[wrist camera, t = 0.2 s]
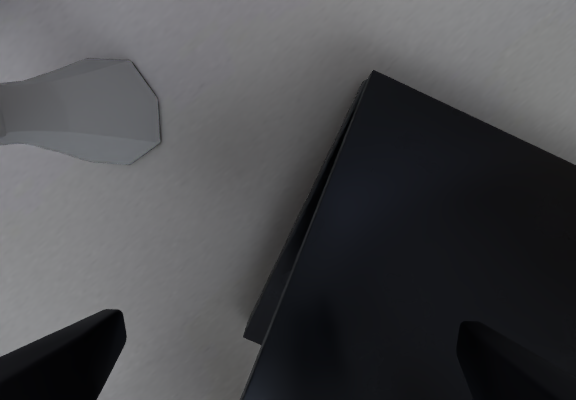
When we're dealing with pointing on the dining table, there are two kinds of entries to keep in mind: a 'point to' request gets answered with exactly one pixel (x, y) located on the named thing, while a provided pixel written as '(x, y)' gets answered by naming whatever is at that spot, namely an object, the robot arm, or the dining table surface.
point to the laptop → (294, 241)
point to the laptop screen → (422, 257)
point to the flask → (83, 112)
